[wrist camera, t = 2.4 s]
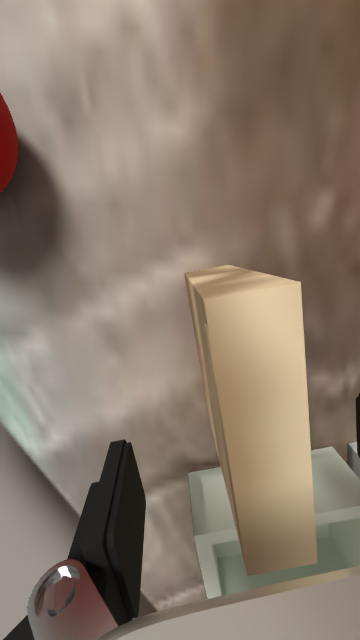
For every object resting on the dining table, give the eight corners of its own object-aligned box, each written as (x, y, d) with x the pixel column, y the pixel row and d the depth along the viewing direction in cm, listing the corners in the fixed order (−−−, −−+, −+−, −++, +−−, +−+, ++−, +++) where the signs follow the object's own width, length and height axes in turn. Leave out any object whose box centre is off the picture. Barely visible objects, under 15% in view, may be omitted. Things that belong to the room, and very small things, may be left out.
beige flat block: (228, 264, 18) (301, 282, 8) (248, 418, 21) (318, 563, 11) (184, 273, 18) (203, 300, 8) (210, 425, 21) (247, 576, 11)
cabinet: (412, 431, 22) (505, 500, 16) (404, 584, 26) (473, 682, 20) (188, 472, 22) (195, 557, 16) (218, 618, 26) (233, 725, 20)
